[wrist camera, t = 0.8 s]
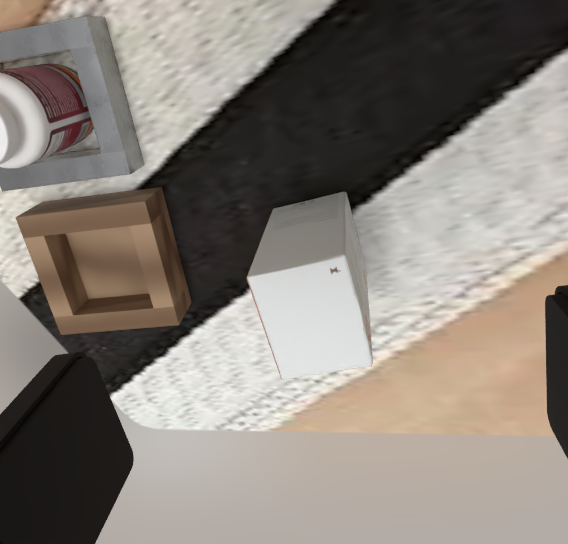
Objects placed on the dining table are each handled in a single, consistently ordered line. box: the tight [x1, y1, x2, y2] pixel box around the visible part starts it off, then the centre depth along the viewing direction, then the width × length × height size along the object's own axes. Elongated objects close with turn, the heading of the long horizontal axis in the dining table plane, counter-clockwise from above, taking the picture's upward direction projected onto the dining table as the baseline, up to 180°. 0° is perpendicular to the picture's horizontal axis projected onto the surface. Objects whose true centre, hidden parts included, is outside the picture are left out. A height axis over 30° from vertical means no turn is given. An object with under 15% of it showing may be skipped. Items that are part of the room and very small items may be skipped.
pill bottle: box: [0, 64, 93, 168], centre depth 36 cm, size 6×6×11 cm
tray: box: [16, 187, 192, 335], centre depth 44 cm, size 11×11×4 cm
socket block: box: [0, 16, 144, 191], centre depth 40 cm, size 11×11×3 cm
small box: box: [247, 192, 373, 379], centre depth 38 cm, size 8×6×13 cm
